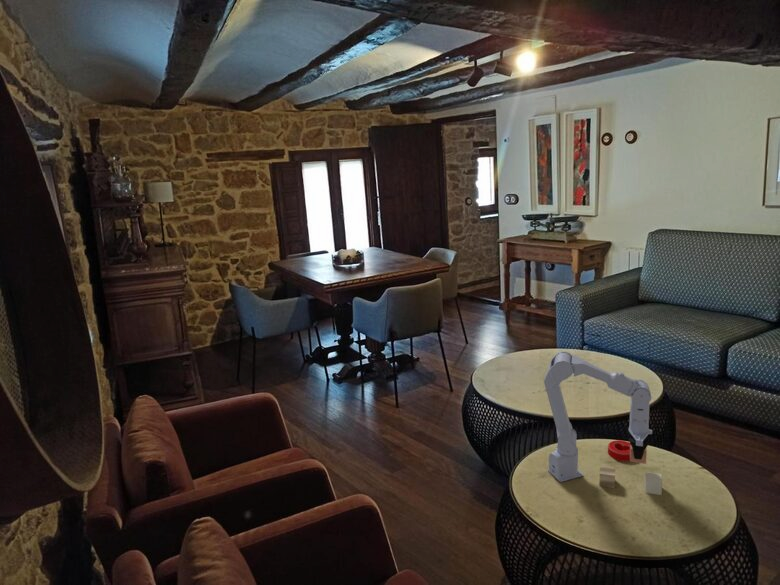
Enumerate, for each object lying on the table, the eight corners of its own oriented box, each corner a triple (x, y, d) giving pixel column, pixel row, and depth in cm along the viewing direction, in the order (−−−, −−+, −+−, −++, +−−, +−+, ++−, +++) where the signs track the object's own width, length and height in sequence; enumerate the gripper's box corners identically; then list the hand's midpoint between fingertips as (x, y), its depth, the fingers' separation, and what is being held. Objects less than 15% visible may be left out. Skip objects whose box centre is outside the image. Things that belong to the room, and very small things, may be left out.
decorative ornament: (608, 460, 196) (608, 452, 196) (607, 446, 205) (607, 438, 204) (637, 463, 193) (637, 455, 193) (634, 448, 202) (635, 441, 201)
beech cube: (614, 488, 180) (615, 475, 179) (599, 485, 182) (599, 473, 181) (614, 480, 185) (615, 467, 183) (599, 477, 186) (600, 465, 185)
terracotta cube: (646, 463, 178) (646, 450, 176) (630, 461, 180) (630, 448, 178) (645, 456, 182) (646, 443, 181) (629, 454, 184) (630, 441, 183)
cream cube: (661, 495, 175) (662, 482, 174) (645, 492, 177) (645, 480, 176) (660, 486, 179) (661, 474, 178) (644, 484, 181) (645, 471, 180)
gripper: (654, 429, 169) (652, 468, 172) (651, 408, 182) (649, 444, 185) (629, 427, 172) (628, 464, 175) (628, 406, 185) (627, 442, 188)
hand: (637, 454), depth 180 cm, fingers closed on terracotta cube, 5 cm apart
